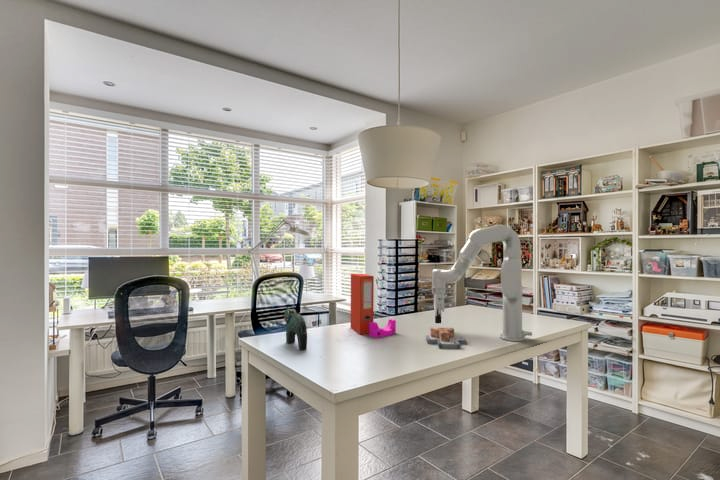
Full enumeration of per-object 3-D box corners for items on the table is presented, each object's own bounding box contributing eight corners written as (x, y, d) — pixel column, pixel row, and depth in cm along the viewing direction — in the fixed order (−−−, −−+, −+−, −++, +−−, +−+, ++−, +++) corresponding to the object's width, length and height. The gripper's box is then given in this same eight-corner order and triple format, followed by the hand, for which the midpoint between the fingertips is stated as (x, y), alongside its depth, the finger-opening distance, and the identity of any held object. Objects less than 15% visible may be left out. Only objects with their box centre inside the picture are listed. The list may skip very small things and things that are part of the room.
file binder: (363, 327, 222) (363, 273, 222) (373, 333, 205) (373, 275, 206) (350, 328, 219) (350, 273, 219) (360, 334, 203) (359, 276, 203)
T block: (452, 335, 202) (452, 327, 202) (456, 341, 190) (456, 333, 190) (430, 334, 203) (430, 327, 203) (433, 340, 191) (433, 332, 191)
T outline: (462, 339, 192) (462, 335, 192) (470, 348, 175) (470, 344, 176) (425, 339, 193) (425, 335, 193) (429, 348, 177) (429, 344, 177)
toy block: (375, 338, 196) (375, 324, 196) (369, 335, 202) (369, 322, 202) (398, 334, 204) (398, 321, 204) (391, 332, 209) (391, 319, 209)
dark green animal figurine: (282, 342, 189) (282, 302, 189) (294, 340, 193) (294, 301, 193) (298, 351, 172) (298, 308, 172) (311, 349, 176) (311, 307, 176)
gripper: (447, 292, 204) (446, 326, 204) (443, 289, 218) (442, 320, 219) (433, 292, 204) (433, 325, 204) (430, 288, 219) (429, 319, 219)
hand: (438, 322), depth 211 cm, fingers closed
